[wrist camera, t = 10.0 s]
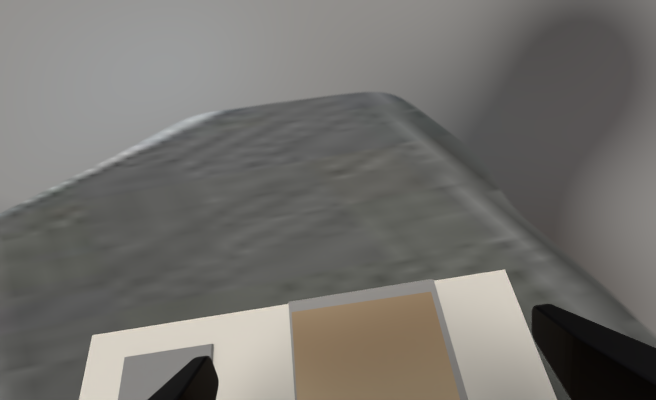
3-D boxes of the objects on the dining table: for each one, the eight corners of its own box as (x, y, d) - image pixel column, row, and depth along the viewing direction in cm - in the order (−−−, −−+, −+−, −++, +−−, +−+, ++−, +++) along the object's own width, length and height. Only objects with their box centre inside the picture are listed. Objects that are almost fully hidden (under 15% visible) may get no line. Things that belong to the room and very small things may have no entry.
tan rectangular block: (423, 437, 14) (503, 556, 5) (348, 446, 14) (306, 576, 6) (400, 330, 16) (431, 291, 8) (335, 339, 17) (290, 312, 8)
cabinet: (579, 475, 14) (640, 509, 11) (63, 539, 15) (-20, 585, 12) (499, 273, 18) (526, 254, 15) (102, 336, 19) (49, 331, 16)
